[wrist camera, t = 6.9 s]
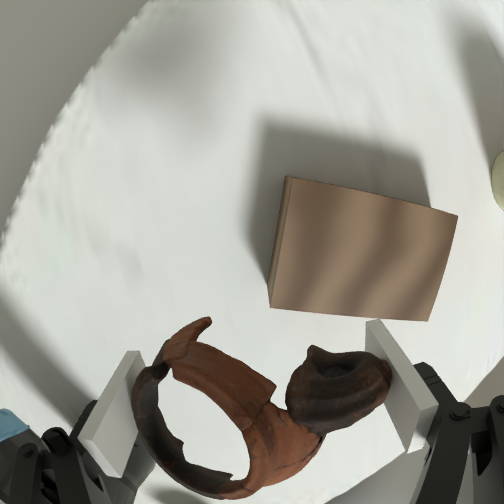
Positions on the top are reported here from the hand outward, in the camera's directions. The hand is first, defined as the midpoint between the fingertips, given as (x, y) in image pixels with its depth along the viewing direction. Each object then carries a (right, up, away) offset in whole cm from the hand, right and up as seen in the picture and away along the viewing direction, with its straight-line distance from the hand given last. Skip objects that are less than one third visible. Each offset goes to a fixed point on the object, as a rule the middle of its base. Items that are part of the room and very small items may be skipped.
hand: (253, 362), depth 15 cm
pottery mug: (0, -1, +1) cm, 2 cm away
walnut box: (+11, +6, +18) cm, 22 cm away
